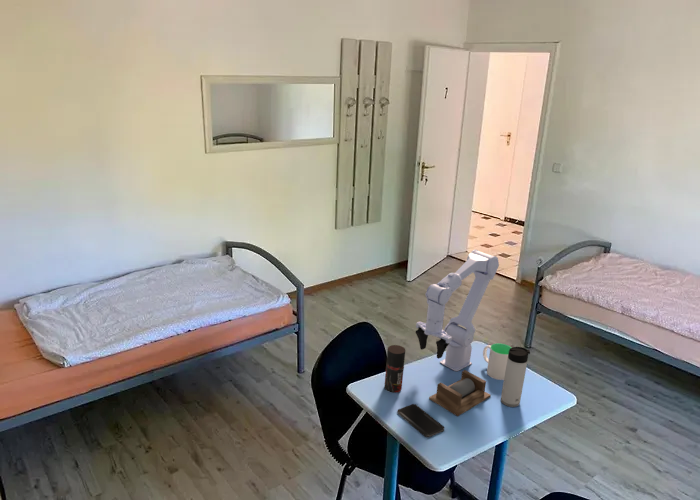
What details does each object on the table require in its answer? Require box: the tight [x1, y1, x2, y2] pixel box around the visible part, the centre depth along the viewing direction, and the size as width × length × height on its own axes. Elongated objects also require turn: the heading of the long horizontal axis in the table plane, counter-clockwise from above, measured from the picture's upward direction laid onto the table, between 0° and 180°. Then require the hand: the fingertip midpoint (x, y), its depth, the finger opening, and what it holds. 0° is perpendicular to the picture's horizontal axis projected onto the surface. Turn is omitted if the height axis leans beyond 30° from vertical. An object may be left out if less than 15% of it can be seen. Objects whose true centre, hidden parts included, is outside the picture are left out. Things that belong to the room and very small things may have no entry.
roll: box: [450, 378, 475, 398], centre depth 186 cm, size 9×5×5 cm, turn 132°
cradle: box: [428, 369, 491, 417], centre depth 186 cm, size 18×12×6 cm, turn 132°
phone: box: [396, 403, 445, 438], centre depth 174 cm, size 8×1×15 cm
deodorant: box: [384, 344, 406, 394], centre depth 188 cm, size 6×6×15 cm
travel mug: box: [500, 346, 531, 408], centre depth 183 cm, size 6×7×20 cm
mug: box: [482, 342, 512, 381], centre depth 203 cm, size 12×8×10 cm, turn 36°
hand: (431, 353), depth 195 cm, fingers open, 7 cm apart
